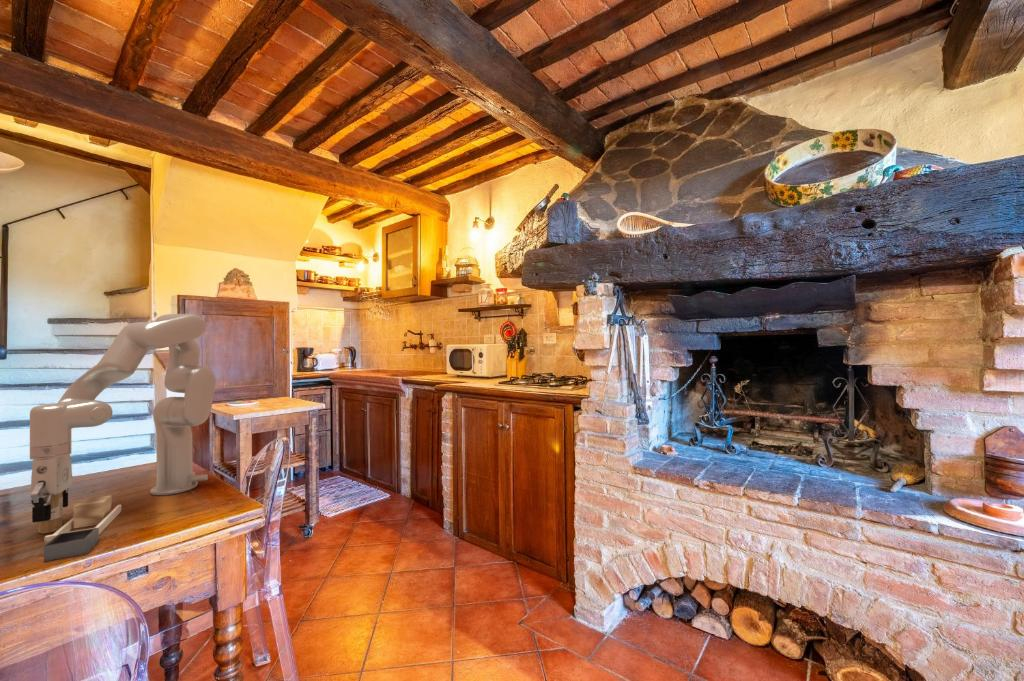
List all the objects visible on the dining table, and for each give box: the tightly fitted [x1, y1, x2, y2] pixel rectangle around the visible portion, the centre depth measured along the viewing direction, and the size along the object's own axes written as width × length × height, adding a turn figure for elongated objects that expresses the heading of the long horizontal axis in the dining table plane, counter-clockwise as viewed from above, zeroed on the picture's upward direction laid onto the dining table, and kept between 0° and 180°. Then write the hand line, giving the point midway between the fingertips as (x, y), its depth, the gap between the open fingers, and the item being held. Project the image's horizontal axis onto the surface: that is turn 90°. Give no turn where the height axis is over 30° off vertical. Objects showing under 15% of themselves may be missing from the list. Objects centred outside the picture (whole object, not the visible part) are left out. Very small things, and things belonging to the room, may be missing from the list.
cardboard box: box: [73, 494, 112, 529], centre depth 116 cm, size 6×6×6 cm
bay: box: [44, 504, 122, 546], centre depth 112 cm, size 9×21×3 cm, turn 29°
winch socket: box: [43, 527, 100, 562], centre depth 100 cm, size 7×7×4 cm
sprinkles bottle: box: [37, 485, 64, 534], centre depth 111 cm, size 5×5×14 cm
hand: (51, 514), depth 111 cm, fingers open, 9 cm apart
